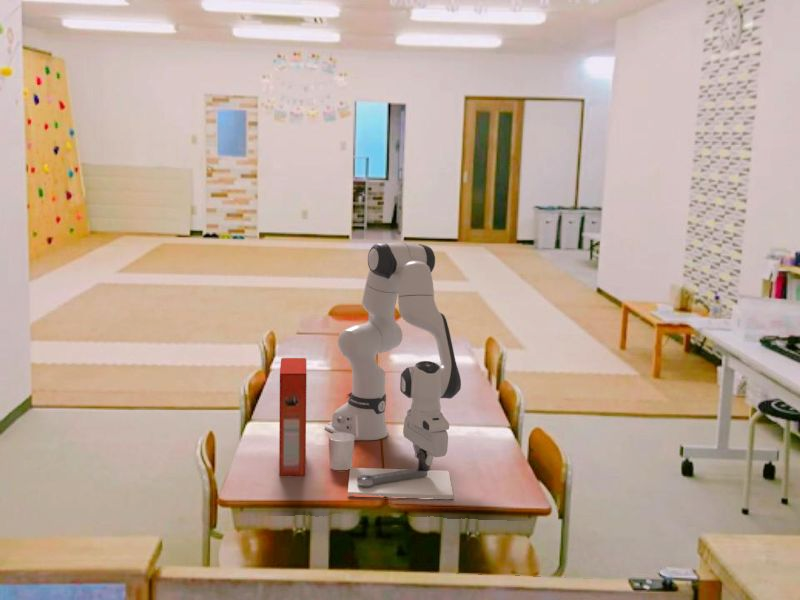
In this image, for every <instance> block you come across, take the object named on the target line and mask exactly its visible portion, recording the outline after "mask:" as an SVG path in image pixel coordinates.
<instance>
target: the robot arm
mask: <svg viewBox="0 0 800 600" xmlns="http://www.w3.org/2000/svg"><path fill="white" fill-rule="evenodd" d="M367 265H368V266H367V267H368V268H369V270H368V274H367V277H366V282H365V287H364V289H363V290H364V291H363V295H362V300H361V306H362V308H364V310H365V312H367V313H368V320H367V321H366V322H365V323H360V324H355V325H352V326H348V327H347V328H346V329H343V330H342V331H341V332H340V333H339V335H338V338H337V347H338V350H339V352H340V353H341V355H342V356H344V357H345V358H346V359H347V361H348V362H349V364H350V367H351V372H352V392H350V393H347V394H346V397H345V398H346V399H347V398H348V400H347V402H346V403H345V404H343V405H341V406H340V407H338V408H337V409H336V410H334V412H333V414H332V417H331V421H330V422H328V423H326V424H325V426H324V429H325V430H326V431H328V432H331V433H332V434H333V433H338V432H344V433H350V434H352V435H354V437H355V439H354V441H376V440H381V439H384V438H386V437H387V436H388V435H389V431H388V428H387V422H386V405H387V394H386V376H387V375H386V372H385V370H384V369H383V368H382V367H381V366H379V365H378V363H377V359H376V358H377V355H378V354H382V353H388V352H390V351H392V350H394V349H396V348H398V346H400V345H401V343H402V341H403V331H402V328H401V326H400V325H399V324H398V322H397V321H396V315H395V313H396V312H395V311H396V305H397V304H398V311H399V314H400V317H402V319H403V320H404V321H405V322H406V323H407V324H408V325H410V326H413V327H415V328H418V329H421V330H423V331H425V332H427V333H429V334H431V335H432V336H433V338H434V339H435V342H436V347H437V352H438V355H439V357H438V358H439V360H440V362H439V363H440V365H439V364H437V363H436V362H433V361H429V360H423V361H419V362H417V363H416V364H415V365H413V366H408V367H406V368H405V369H404V370H403V371H402V372H401V374H400V384H399V385H400V392H401V393H402V394H403V395H404V396H405V397H407V398H408V399H411V401H412V402H411V405H410V408H409V409H407V411H406V416H405V417H404V422H403V429H402V430H403V432H402V433H403V436H404V438H406V439H407V440H408V441H410V442H411V443H412V447H413V450H414V457H415V458H416V459H417V460H418V456H419V449H420V448H422V449H424V450H425V451H427V455H428V456H427V458H425V464H426V465H428V466H429V465H430V466H432V465H433V460H434V457H435V458H442V457H445V456H446V455H447V453H448V446H449V444H448V443H449V434H448V431H449V429H450V423H449V422H448V420H447V419H446V418H445V416H444V415H443V413H442V412H441V409H442V405H441V401H440V400H441V399H448V400H449V399H452V398H454V397H455V396H456V395H457V394H458V393H459V392H460V391H461V387H462V380H461V375H460V371H459V369H458V366H457V362H456V357H455V352H454V347H453V343H452V338H451V333H450V328H449V325H448V321H447V318H446V316H445V314H443V313H442V312H440V311H439V309H438V306H437V305H436V302H435V289H434V283H433V277H432V272H433V270H434V268H435V266H436V256H435V253H434V251H433V249H432V248H431V247H430V246H428V245H425V244H416V243H410V242H391V243H387V242H380V243H376V244H374V245H372V247H371V248H370V250H369V251H368V255H367ZM397 301H398V303H397Z"/></svg>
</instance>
